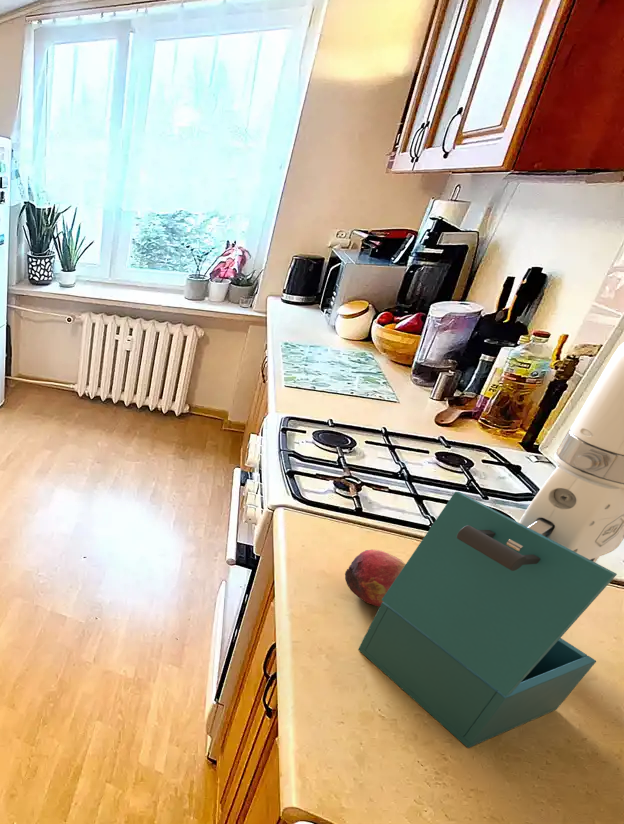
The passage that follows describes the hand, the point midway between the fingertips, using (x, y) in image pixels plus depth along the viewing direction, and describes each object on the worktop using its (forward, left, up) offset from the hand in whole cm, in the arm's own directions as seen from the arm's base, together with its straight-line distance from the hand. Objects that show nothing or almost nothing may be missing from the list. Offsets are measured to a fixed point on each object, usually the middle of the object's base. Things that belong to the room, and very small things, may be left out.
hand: (531, 584), depth 60 cm
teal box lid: (+9, 0, +2) cm, 9 cm away
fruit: (+1, -13, -16) cm, 20 cm away
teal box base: (+3, 0, -15) cm, 16 cm away
